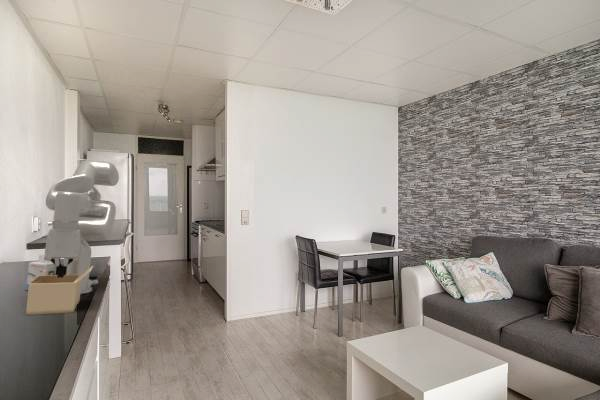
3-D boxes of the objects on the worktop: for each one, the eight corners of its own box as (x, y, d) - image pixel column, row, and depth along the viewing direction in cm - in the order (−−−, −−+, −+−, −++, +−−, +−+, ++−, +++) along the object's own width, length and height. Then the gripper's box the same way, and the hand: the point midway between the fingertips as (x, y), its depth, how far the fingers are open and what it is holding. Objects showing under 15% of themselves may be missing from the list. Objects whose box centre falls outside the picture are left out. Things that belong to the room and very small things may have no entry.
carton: (37, 302, 124) (40, 275, 125) (79, 300, 130) (82, 274, 131) (25, 315, 110) (29, 284, 111) (73, 312, 116) (76, 282, 116)
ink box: (25, 291, 139) (28, 255, 140) (35, 288, 144) (39, 254, 145) (44, 293, 138) (47, 256, 139) (54, 290, 143) (57, 255, 144)
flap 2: (81, 274, 130) (82, 275, 130) (76, 281, 117) (77, 282, 118) (92, 265, 131) (93, 265, 131) (88, 271, 119) (90, 271, 119)
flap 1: (30, 283, 112) (28, 281, 112) (39, 275, 124) (38, 274, 124) (44, 272, 113) (43, 271, 113) (52, 265, 126) (51, 264, 125)
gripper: (37, 225, 115) (32, 279, 114) (88, 227, 122) (84, 278, 121) (42, 224, 122) (37, 275, 121) (90, 226, 129) (86, 274, 128)
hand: (60, 276), depth 121 cm, fingers closed
